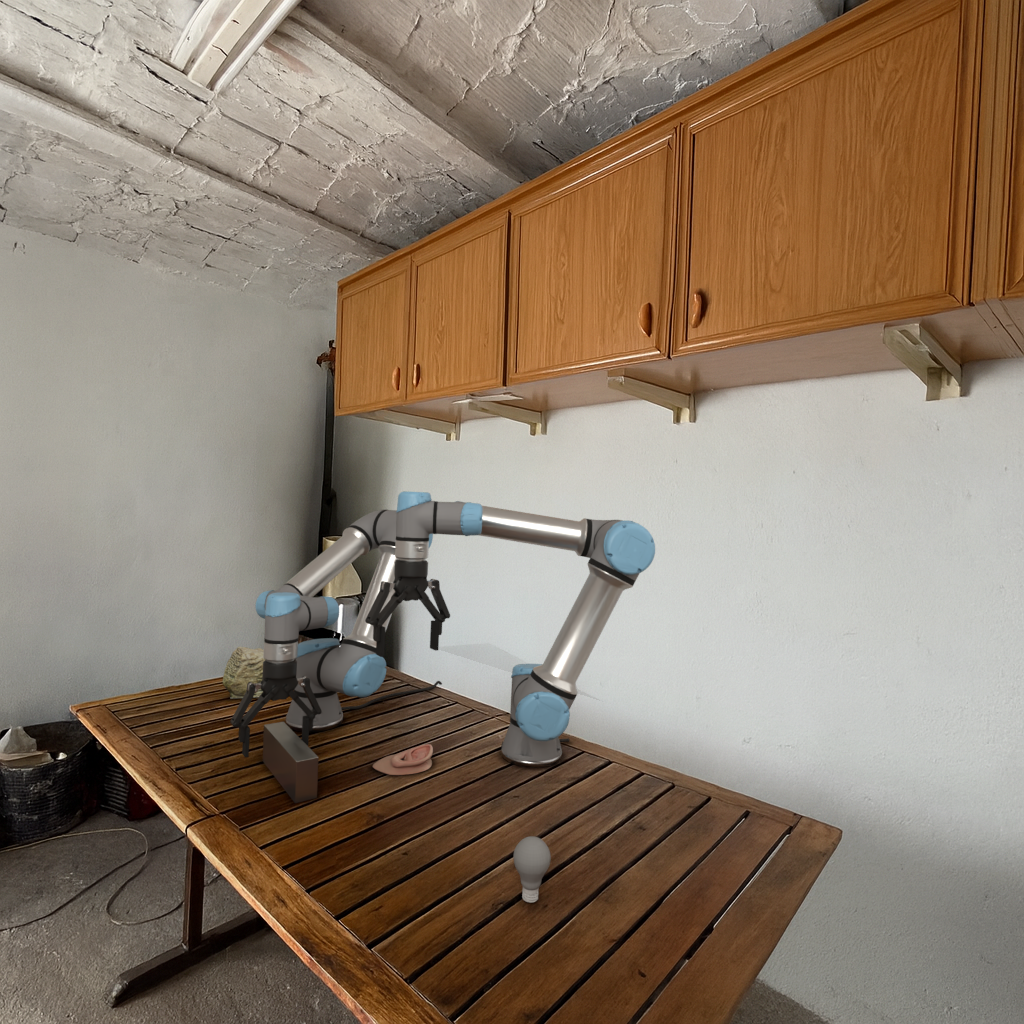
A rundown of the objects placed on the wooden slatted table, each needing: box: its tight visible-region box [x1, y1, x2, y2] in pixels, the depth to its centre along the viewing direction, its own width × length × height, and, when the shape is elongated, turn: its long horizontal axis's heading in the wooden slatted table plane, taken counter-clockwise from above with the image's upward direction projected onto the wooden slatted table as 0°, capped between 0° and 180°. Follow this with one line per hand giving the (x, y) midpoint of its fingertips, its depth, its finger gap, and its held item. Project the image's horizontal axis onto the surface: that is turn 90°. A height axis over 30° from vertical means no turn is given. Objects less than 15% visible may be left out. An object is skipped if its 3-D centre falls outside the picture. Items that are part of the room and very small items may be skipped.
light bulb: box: [512, 836, 552, 904], centre depth 102 cm, size 6×6×10 cm
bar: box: [262, 721, 319, 804], centre depth 142 cm, size 24×5×9 cm, turn 36°
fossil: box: [222, 646, 265, 699], centre depth 198 cm, size 9×18×15 cm, turn 132°
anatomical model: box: [372, 743, 434, 776], centre depth 151 cm, size 13×4×12 cm
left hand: (275, 749), depth 148 cm, fingers open, 13 cm apart
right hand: (407, 652), depth 144 cm, fingers open, 13 cm apart
